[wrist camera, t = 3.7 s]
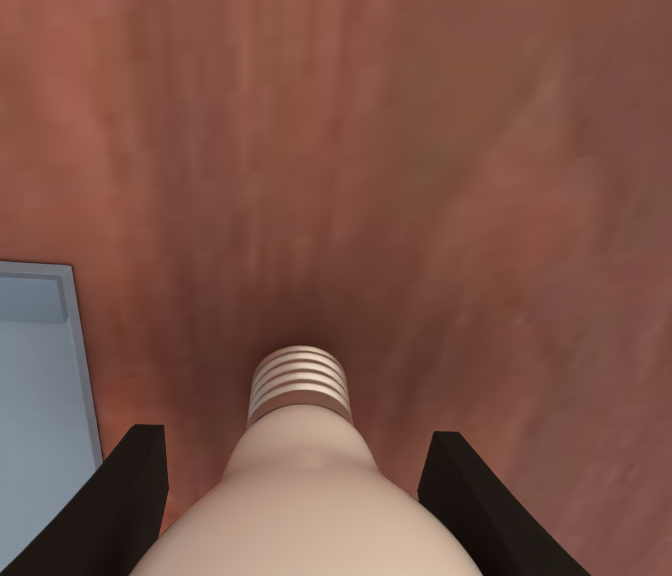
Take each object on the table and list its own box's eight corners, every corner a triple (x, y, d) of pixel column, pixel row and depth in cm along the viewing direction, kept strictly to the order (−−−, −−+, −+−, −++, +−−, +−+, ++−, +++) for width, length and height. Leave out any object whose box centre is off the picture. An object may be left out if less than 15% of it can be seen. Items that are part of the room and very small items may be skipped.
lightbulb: (174, 430, 14) (-70, 1222, 5) (211, 249, 12) (-179, 1212, 2) (364, 460, 16) (482, 1125, 6) (436, 303, 13) (855, 1045, 3)
